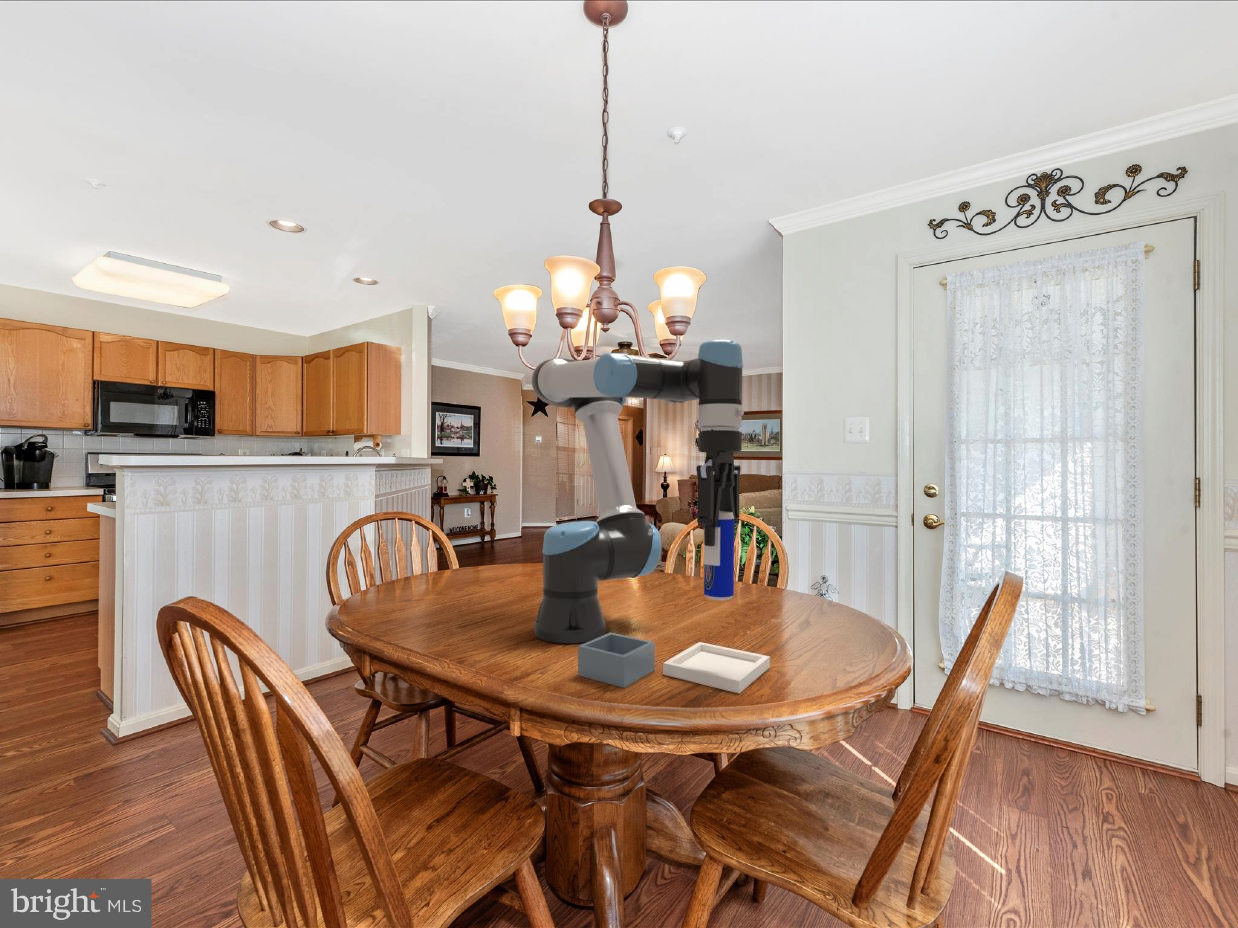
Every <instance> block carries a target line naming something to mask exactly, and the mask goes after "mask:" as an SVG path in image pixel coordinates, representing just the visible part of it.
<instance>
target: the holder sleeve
mask: <svg viewBox="0 0 1238 928" xmlns="http://www.w3.org/2000/svg"><path fill="white" fill-rule="evenodd" d="M655 645H656V642H655V641H650V640H646V639H642V638H638V637H633V636H629V635H624V634H619V633H615V632H608V633H605V635H603V636H601V637H599V638H596V639H594V640H592V641H589V642H584V643H581V644H580V645H577V648H578V649H577V676H579V677H583V678H587V679H590V680H594V681H598V682H601V683H605V684H609V685H612V686H615V687H619V688H623V689H625V688H627V687H629V686H630V685H632V684H634V683H636V682H637V681H639V680H641V679H642V678H644V677H646V676H647V675H649V674H651V673H652V672H654V671H655V664H656V662H655V656H656V655H655V654H656V653H655V651H656V650H655V649H656V646H655Z"/></svg>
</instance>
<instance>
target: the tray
mask: <svg viewBox="0 0 1238 928" xmlns="http://www.w3.org/2000/svg"><path fill="white" fill-rule="evenodd" d="M662 664H663V665H662V670H663V671H662V674H663V675H664V676H667V677H672V678H676V679H678V680H679V679H680V680H683V681H688V682H691V683H692V682H693V683H696V684H700V685H704V686H708V687H712V688H716V689H720V690H725V691H727V692H731V693H736V694H738V695H739V694H741V693H742V692H743V691H744V690H746V689H747V688H748V687H750V685H751V684H753V683H754V682H755V681H756V680H757V679H758V678H759V677H761V676H762V675H763V674H765V672H766V671H768V670H769V669H770V668H771V656H769V655H766V654H761V653H754V652H749V651H745V650H739V649H734V648H730V647H725V646H722V645H721V646H720V645H717V644H716V645H715V644H710V643H706V642H701V641H699V642H697V643H695V644H693V645H692V646H690V647H688V648H687V649H685V650H683V651H681V652H679V653H677V654H676V655H675V656H673V657H671V658H669V659H668V660H666V661H664V662H662Z"/></svg>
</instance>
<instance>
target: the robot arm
mask: <svg viewBox="0 0 1238 928" xmlns="http://www.w3.org/2000/svg"><path fill="white" fill-rule="evenodd" d="M698 347H699V348H698V354H697V358H694V359H689V360H678V359H668V358H659V357H648V356H641V355H634V354H627V353H623V352H614V353H612V352H611V353H610V352H606V353H602V354H601V355H600V357H599V358H593V359H586V360H585V359H584V360H578V359H568V358H550V359H546V360H543V361H542V362H540V363H539V364H538V365H537V366H536V367H535V369H534V370H533V372H532V375H531V376H532V377H531V387H532V389H533V392H534V393H535V395H536V397H538V398H539V399H540V400H541V401H543V402H544V403H546V404H547V405H550V406H554V407H558V408H559V407H561V408H572V409H573V410H574V415H575V419H576V420H577V421H578V422H580V423H582V425H583V426H582V427H583V430H584V436H585V440H586V441H585V442H586V445H587V446H586V447H587V453H588V457H589V463H590V468H591V473H592V478H593V484H594V489H595V495H596V499H597V506H598V511H599V516H598V518H597V519H596V521H592V520H581V521H570V522H563V523H559V524H556V525H555V524H554V525H553V526H551V527H549V528H548V529H547V530H546V531H545V532H544V535H543V545H542V546H543V547H542V550H541V551H542V568H543V569H542V575H543V576H542V577H543V578H542V600H541V603H540V605H539V608H538V612H537V615H536V619H535V621H534V628H533V629H534V636H535V638H537V639H539V640H542V641H545V642H550V643H556V644H557V643H558V644H583V643H587V642H589V641H592V640H594V639H596V638H599V637H601V636H603V635H606V628H607V627H606V626H607V625H606V620H605V618H604V614H603V610H602V606H601V604H600V603H601V602H600V600H599V596H598V586H599V585H598V582H601V581H611V580H619V579H629V578H630V579H636V578H638V577H643V576H648V575H650V574H651V573H652V572H653V571H654V570H656V568H657V566H658V564H659V560H660V559H661V554H662V538H661V534H660V532H659V530H658V528H657V527H656V526H655V525H653V524H651V523H647V520H646V515H645V512H643V511H642V510H640V509H638V508H637V503H636V499H635V494H634V488H633V483H632V480H631V475H630V471H629V467H628V466H629V465H628V462H627V456H626V452H625V447H624V442H623V437H622V432H621V427H620V423H619V418H618V416H619V415H620V414H621V413H622V411H623V406H624V405H625V404H626V401H627V398H634V399H635V398H636V399H649V400H660V401H661V400H663V401H665V402H666V403H674V404H676V403H679V404H683V403H686V402H691V401H698V411H697V412H698V417H697V419H698V420H697V422H698V423H697V427H698V428H699V429H701V430H700V431H699V433H698V434H697V438H698V439H697V440H698V442H697V449H698V452H700V453H705V459H704V464H701V465H700V464H698V465H697V466H696V476H697V506H696V507H697V508H696V510H697V511H696V513H697V515H696V521H697V522H696V523H697V525H698V527H703V565H704V564H706V565H715V566H719V565H720V527H717V525H718V517H719V511H725V512H732V513H733V516H734V525H735V524H737V525H739V523H740V476H741V469H742V467H741V465H740V464H735V460H734V453H740V452H741V451H742V449H743V447H742V445H743V443H742V442H743V441H742V439H743V437H742V436H743V435H742V434H743V433H742V432H741V431H739V429H741V427H742V416H744V415H745V414H744V413H745V412H744V410H743V408H742V406H743V401H742V400H743V368H744V364H743V350H742V345H741V344H740V342H737V341H735V340H730V339H729V340H728V339H712V340H707V341H704V342H703V343H701V344H700V345H699V346H698Z"/></svg>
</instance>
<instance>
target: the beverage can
mask: <svg viewBox="0 0 1238 928" xmlns="http://www.w3.org/2000/svg"><path fill="white" fill-rule="evenodd" d="M717 527H720V565H719V566H715V565H706V564H704V563H703V565H704V566H703V594H704V596H705V598H707V599H709V600H713V601H729V600H731V599H732V598H733V597H734V595H735V591H734V587H735V586H734V585H735V578H734V577H735V576H734V575H735V524H734V516H733V513H732V512H725V511H720V510H719V517H718V525H717Z"/></svg>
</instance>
